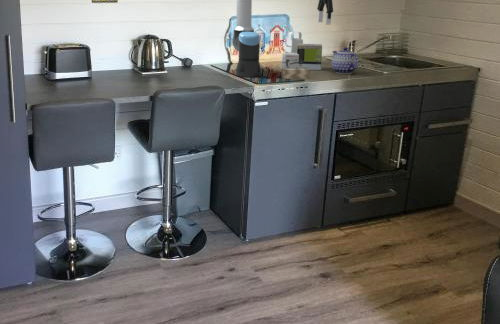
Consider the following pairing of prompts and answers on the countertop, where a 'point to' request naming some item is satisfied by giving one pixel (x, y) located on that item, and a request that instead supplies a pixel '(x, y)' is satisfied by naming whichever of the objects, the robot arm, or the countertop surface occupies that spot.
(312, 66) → the tea box
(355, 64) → the teapot
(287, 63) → the ink box
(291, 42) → the grater
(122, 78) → the countertop surface
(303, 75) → the batten
